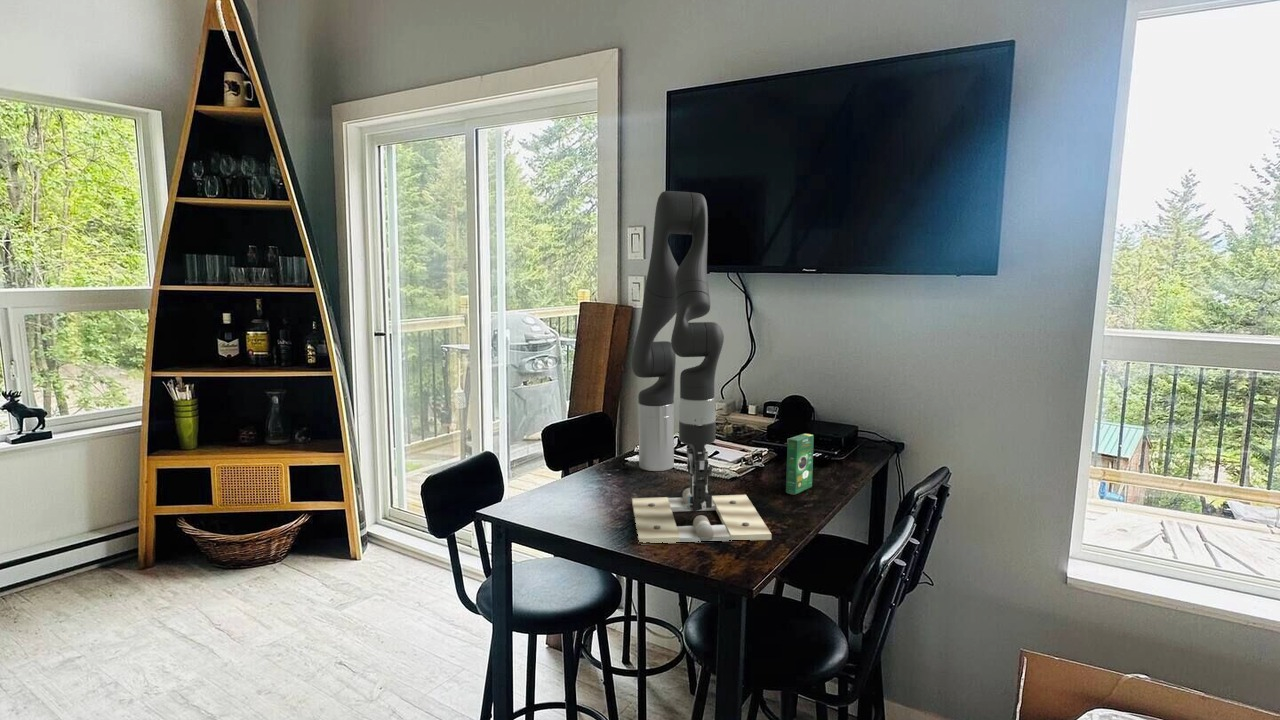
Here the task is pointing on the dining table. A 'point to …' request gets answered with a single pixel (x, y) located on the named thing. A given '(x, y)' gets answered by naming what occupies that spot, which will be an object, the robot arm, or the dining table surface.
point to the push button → (707, 497)
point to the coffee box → (799, 463)
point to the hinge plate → (698, 520)
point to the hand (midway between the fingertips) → (697, 498)
